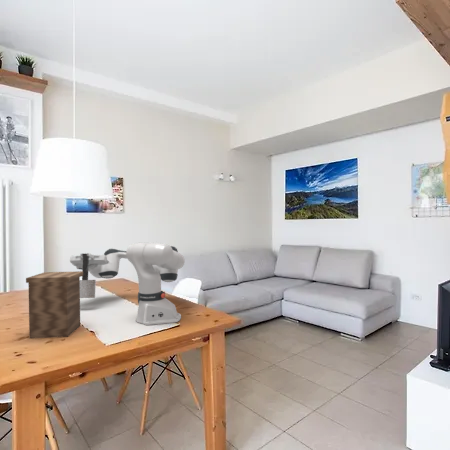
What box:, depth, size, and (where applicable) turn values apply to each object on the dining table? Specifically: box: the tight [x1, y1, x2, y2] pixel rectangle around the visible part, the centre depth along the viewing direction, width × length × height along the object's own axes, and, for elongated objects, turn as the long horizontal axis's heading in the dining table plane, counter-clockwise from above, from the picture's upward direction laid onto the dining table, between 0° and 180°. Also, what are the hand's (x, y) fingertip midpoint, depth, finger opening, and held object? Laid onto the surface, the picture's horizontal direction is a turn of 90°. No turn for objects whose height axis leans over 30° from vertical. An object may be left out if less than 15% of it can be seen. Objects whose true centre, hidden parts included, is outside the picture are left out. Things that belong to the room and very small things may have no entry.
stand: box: [25, 270, 83, 339], centre depth 143 cm, size 18×16×26 cm
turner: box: [80, 253, 97, 299], centre depth 179 cm, size 11×25×2 cm
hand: (84, 254), depth 178 cm, fingers closed on turner, 2 cm apart
